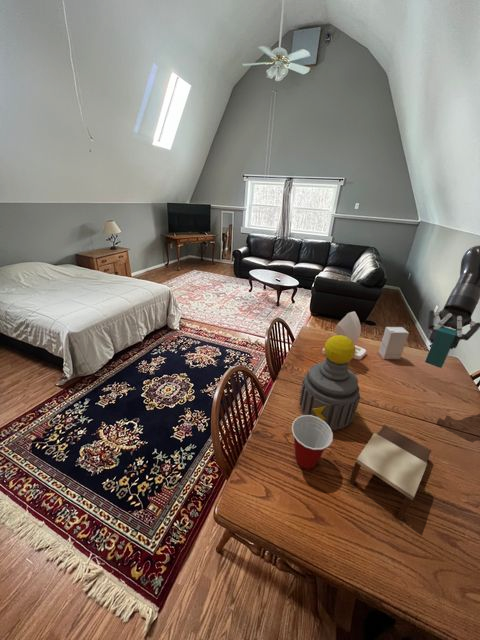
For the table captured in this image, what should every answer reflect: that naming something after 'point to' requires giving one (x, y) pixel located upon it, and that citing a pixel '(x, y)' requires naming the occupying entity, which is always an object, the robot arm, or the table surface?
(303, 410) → the decorative lamp
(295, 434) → the plastic cup
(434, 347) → the teal rectangular block
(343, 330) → the jewelry stand
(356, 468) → the cream miniature table
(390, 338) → the cosmetic box
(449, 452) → the table surface
